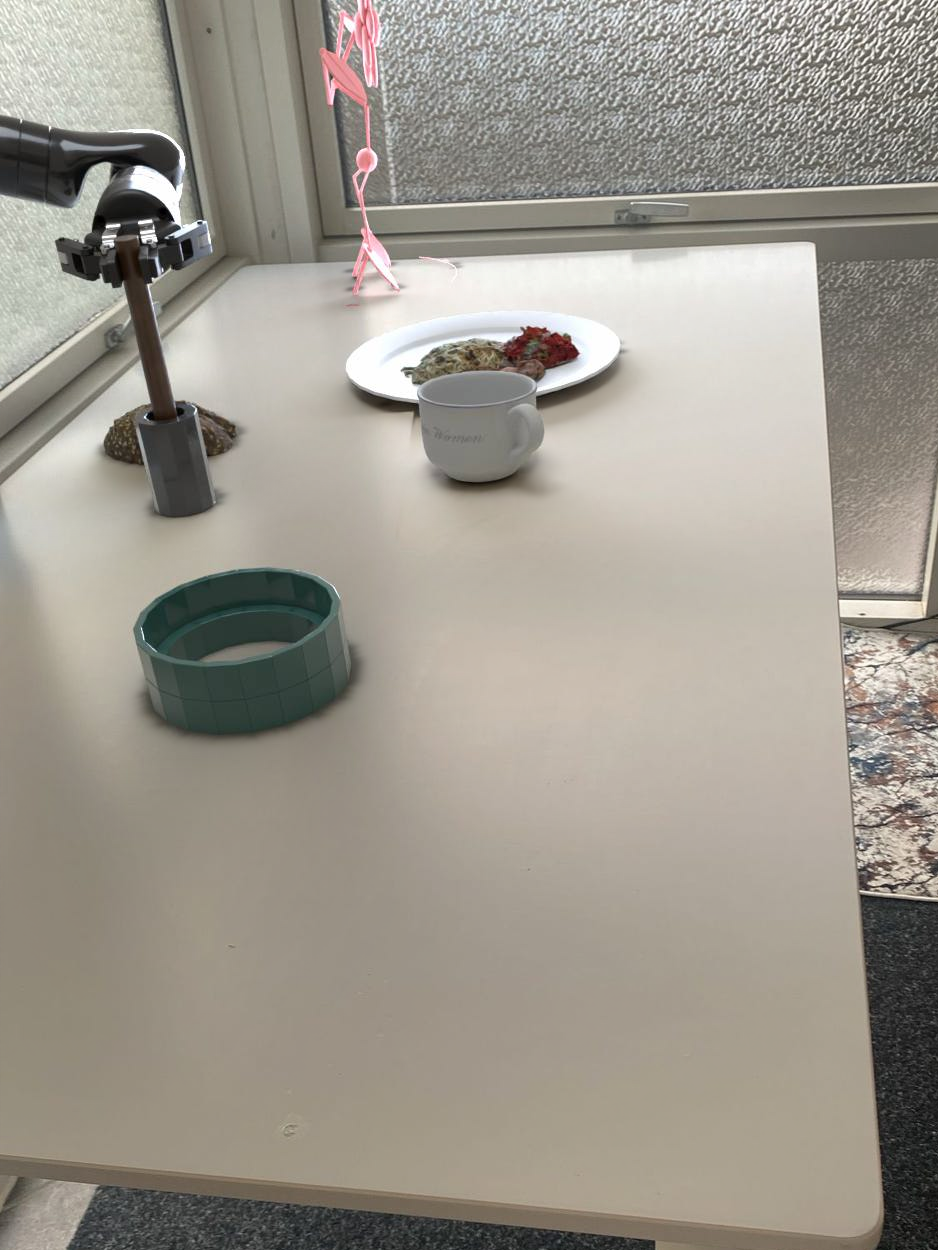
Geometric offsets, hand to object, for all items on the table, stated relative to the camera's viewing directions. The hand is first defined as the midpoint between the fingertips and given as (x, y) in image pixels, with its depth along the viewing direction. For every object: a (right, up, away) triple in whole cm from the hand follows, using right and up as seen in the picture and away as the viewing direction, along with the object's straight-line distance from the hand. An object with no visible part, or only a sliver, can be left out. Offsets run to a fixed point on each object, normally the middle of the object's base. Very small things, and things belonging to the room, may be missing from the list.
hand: (129, 272), depth 107 cm
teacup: (+29, -12, +16) cm, 35 cm away
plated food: (+29, +7, +40) cm, 50 cm away
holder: (+1, -15, +16) cm, 22 cm away
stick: (+1, -12, +13) cm, 18 cm away
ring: (+12, -35, -11) cm, 38 cm away
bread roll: (-3, -6, +28) cm, 29 cm away
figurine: (+18, +30, +72) cm, 80 cm away
